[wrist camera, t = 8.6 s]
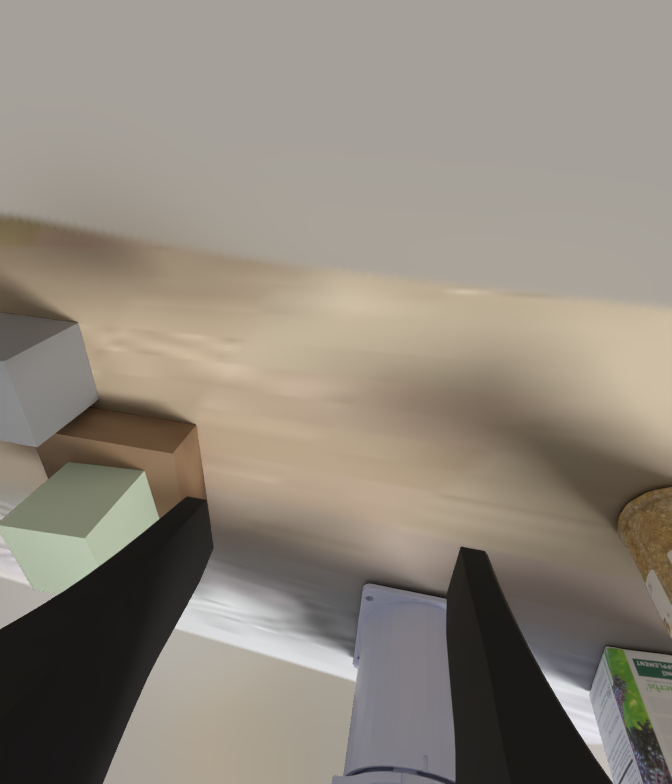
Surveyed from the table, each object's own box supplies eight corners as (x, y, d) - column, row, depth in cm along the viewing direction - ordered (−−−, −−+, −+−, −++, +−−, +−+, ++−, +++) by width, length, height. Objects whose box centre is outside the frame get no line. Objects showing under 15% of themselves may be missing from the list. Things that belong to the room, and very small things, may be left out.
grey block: (100, 398, 24) (37, 447, 20) (28, 387, 24) (-47, 432, 21) (79, 322, 22) (3, 361, 18) (0, 311, 22) (-89, 347, 18)
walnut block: (213, 521, 28) (191, 560, 25) (101, 500, 29) (70, 534, 26) (200, 420, 24) (172, 453, 21) (70, 399, 25) (29, 429, 22)
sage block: (163, 532, 24) (113, 604, 21) (93, 522, 25) (33, 589, 21) (144, 470, 22) (84, 538, 18) (68, 461, 23) (-4, 524, 19)
